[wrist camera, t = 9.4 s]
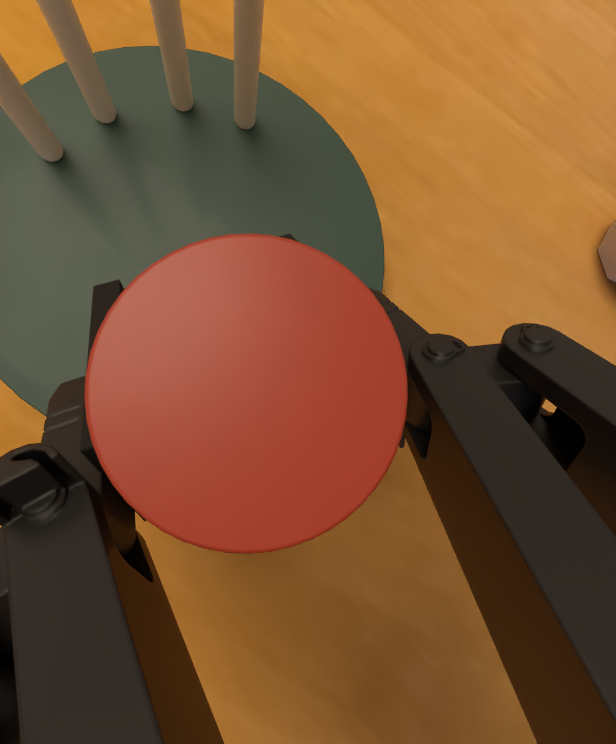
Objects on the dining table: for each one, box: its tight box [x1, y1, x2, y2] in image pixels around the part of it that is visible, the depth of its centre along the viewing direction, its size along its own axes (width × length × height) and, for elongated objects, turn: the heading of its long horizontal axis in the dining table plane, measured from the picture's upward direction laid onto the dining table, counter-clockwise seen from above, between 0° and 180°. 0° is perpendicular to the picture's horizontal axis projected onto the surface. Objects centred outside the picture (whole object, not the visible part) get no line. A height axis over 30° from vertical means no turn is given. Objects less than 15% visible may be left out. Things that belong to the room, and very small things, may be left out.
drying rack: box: [0, 0, 408, 554], centre depth 10 cm, size 17×17×13 cm
